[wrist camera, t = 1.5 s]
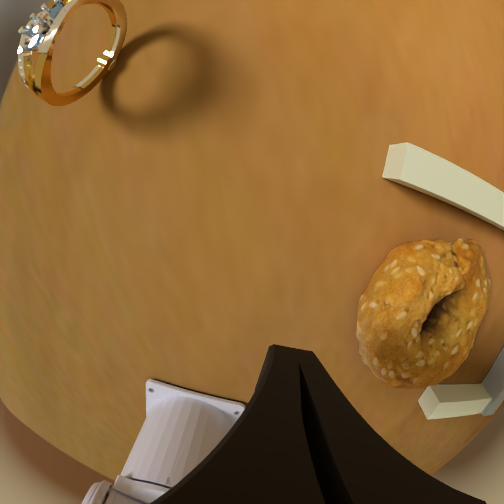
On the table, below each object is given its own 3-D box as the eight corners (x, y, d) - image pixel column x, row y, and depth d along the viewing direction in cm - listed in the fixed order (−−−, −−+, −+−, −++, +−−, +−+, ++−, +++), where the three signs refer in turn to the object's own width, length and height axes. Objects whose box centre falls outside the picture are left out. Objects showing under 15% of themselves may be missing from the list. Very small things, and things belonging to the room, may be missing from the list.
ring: (125, 17, 13) (61, -35, 5) (158, 29, 13) (96, -34, 5) (70, 101, 15) (-16, 85, 7) (97, 118, 15) (7, 103, 7)
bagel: (485, 306, 17) (519, 334, 12) (377, 381, 19) (394, 424, 15) (457, 196, 15) (502, 208, 10) (322, 285, 17) (337, 325, 13)
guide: (481, 397, 20) (493, 414, 17) (304, 393, 20) (307, 421, 17) (555, 237, 14) (574, 246, 12) (389, 145, 14) (412, 141, 11)
